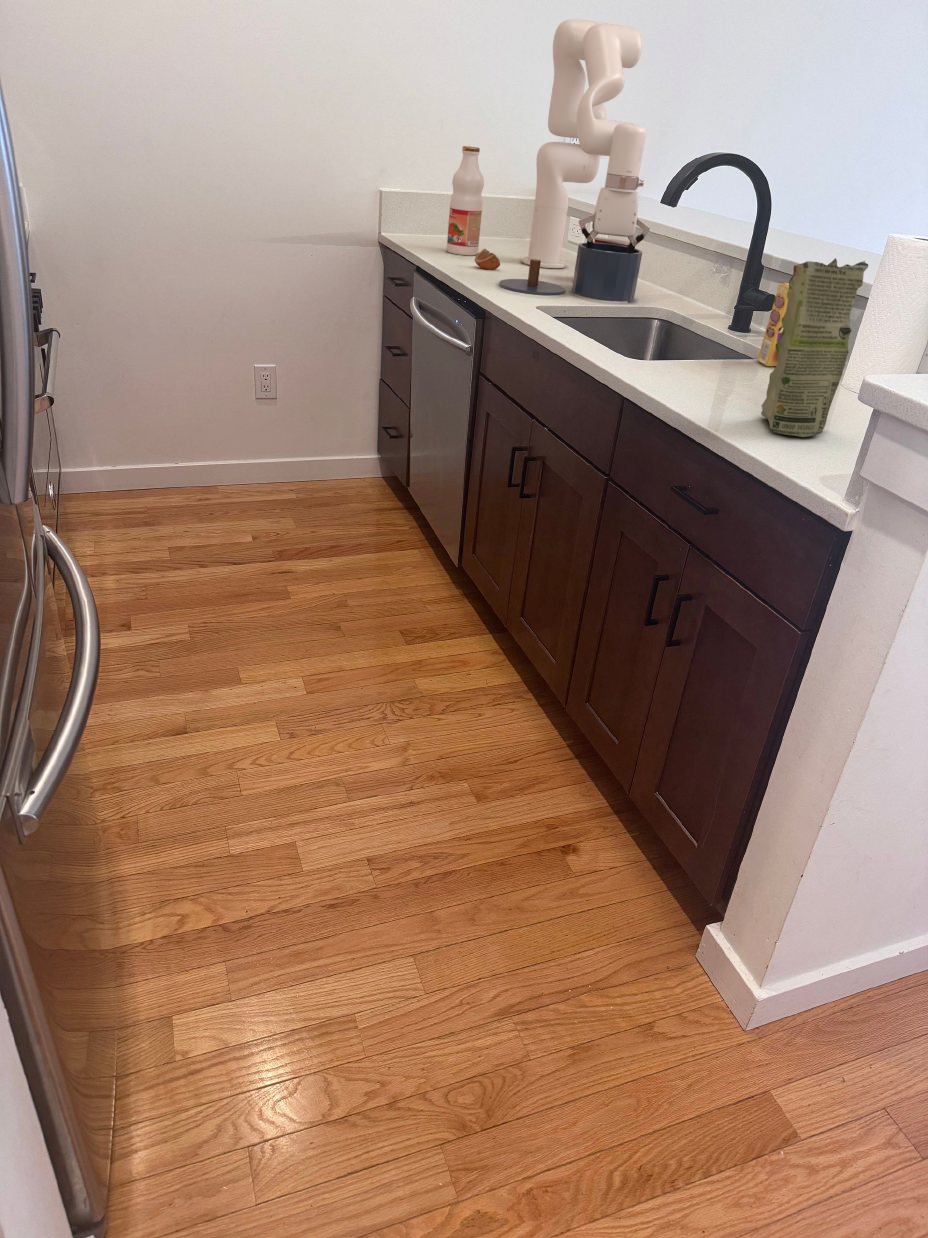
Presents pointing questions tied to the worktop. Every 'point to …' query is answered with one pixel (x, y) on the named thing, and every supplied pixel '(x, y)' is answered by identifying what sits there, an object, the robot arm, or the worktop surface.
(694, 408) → the worktop surface
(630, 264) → the pot
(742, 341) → the worktop surface
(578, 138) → the robot arm
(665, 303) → the worktop surface
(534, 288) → the lid
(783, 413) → the pouch
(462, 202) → the fruit juice
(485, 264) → the fruit slice
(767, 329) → the candy box
